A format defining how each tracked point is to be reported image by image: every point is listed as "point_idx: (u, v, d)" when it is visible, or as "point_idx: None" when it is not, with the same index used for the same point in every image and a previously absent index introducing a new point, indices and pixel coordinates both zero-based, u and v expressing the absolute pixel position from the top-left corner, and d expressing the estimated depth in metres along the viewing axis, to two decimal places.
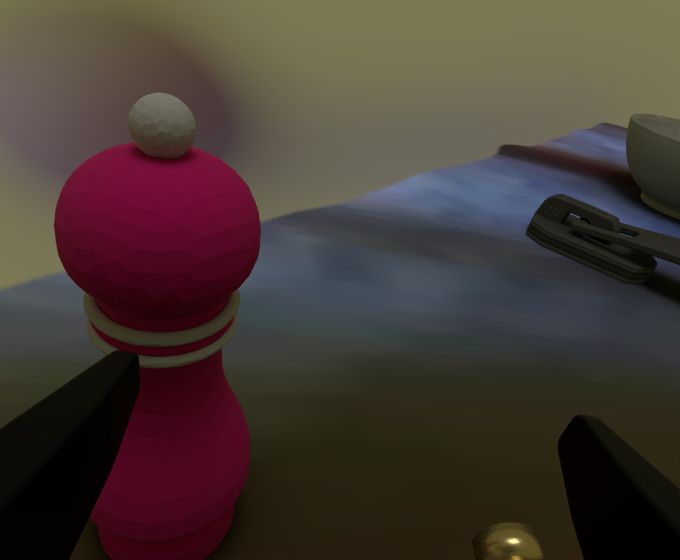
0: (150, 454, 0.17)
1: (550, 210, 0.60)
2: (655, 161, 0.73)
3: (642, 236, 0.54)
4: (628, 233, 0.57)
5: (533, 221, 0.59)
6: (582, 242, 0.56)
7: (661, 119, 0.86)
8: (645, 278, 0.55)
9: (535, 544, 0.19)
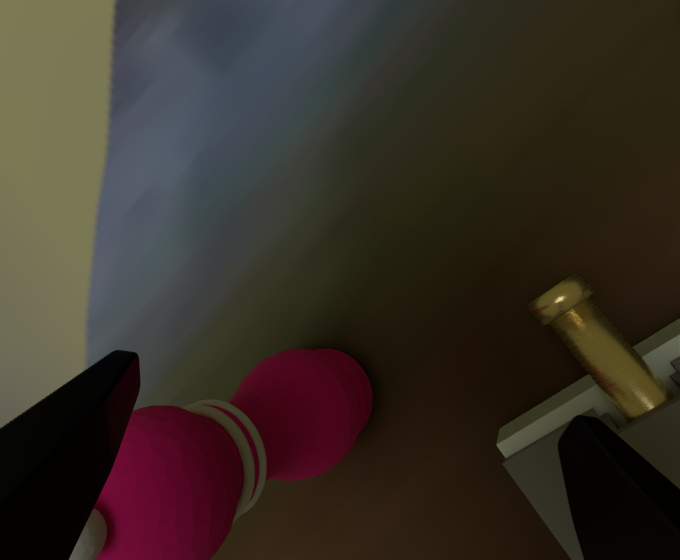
0: (296, 470, 0.24)
1: None
2: None
3: None
4: None
5: None
6: None
7: None
8: None
9: (574, 293, 0.21)
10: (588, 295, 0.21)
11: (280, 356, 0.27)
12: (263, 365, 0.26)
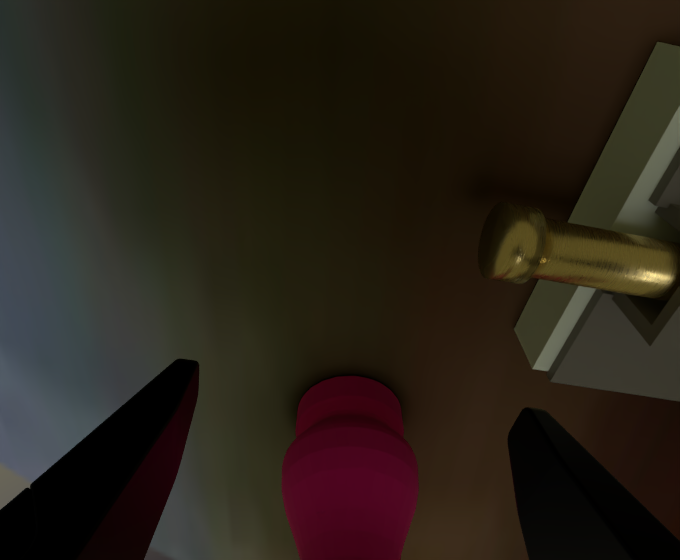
0: None
1: None
2: None
3: None
4: None
5: None
6: None
7: None
8: None
9: (531, 246, 0.16)
10: (544, 233, 0.16)
11: (295, 471, 0.23)
12: (291, 494, 0.23)
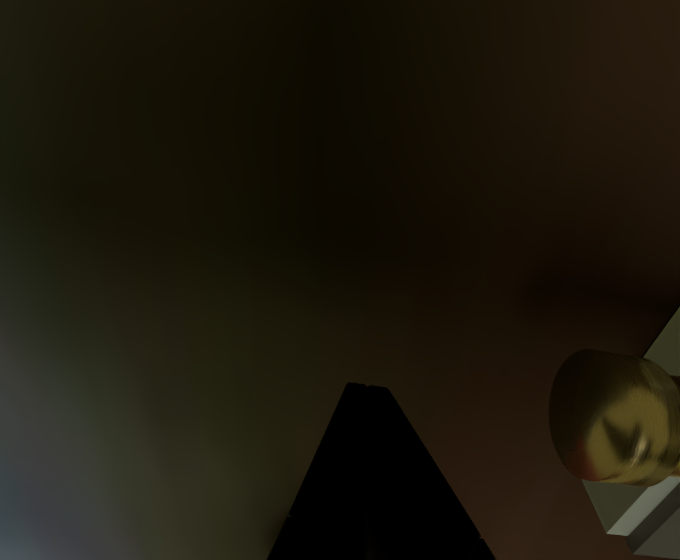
0: None
1: None
2: None
3: None
4: None
5: None
6: None
7: None
8: None
9: (660, 446, 0.09)
10: None
11: None
12: None
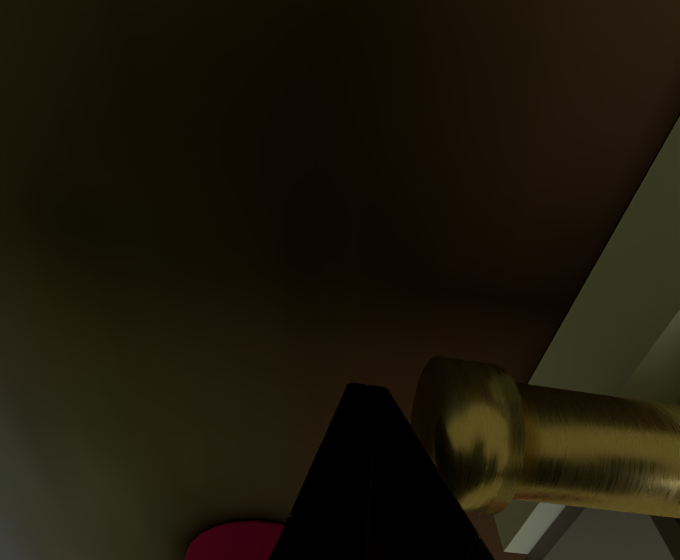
0: None
1: None
2: None
3: None
4: None
5: None
6: None
7: None
8: None
9: (494, 469, 0.08)
10: (521, 443, 0.08)
11: None
12: None
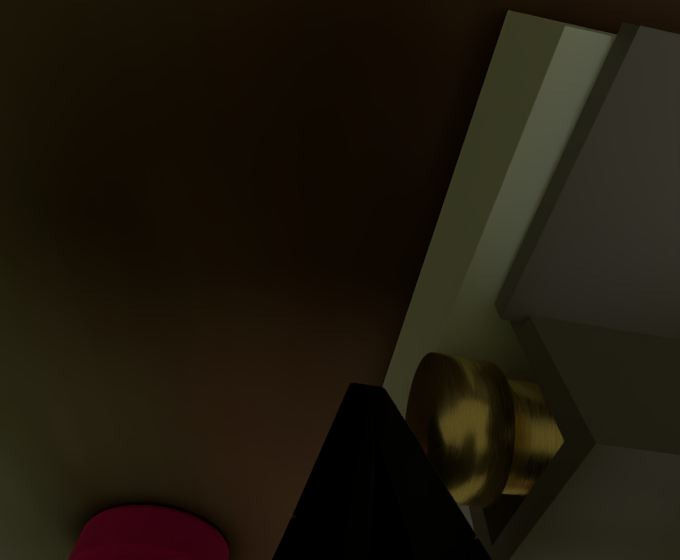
0: None
1: None
2: None
3: None
4: None
5: None
6: None
7: None
8: None
9: (484, 463, 0.08)
10: (511, 438, 0.08)
11: None
12: None
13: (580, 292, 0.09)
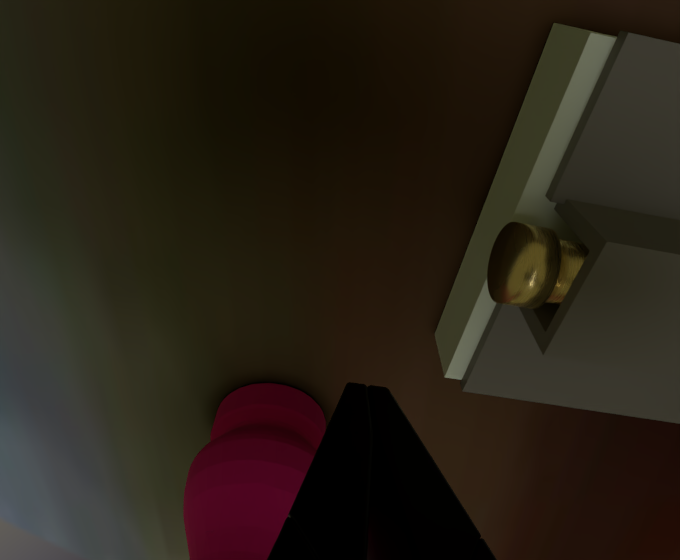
0: None
1: None
2: None
3: None
4: None
5: None
6: None
7: None
8: None
9: (545, 270, 0.15)
10: (559, 257, 0.15)
11: (192, 486, 0.22)
12: (187, 511, 0.22)
13: (597, 183, 0.16)
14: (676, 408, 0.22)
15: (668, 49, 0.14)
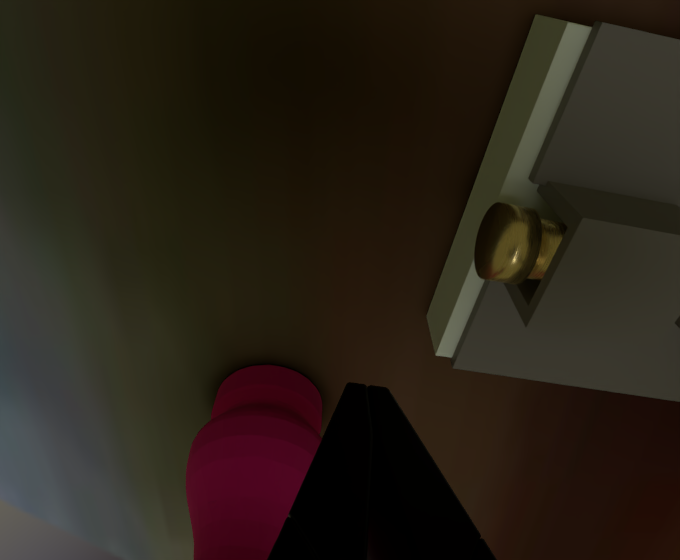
0: None
1: None
2: None
3: None
4: None
5: None
6: None
7: None
8: None
9: (526, 246, 0.16)
10: (540, 234, 0.16)
11: (194, 460, 0.23)
12: (189, 484, 0.22)
13: (576, 166, 0.17)
14: (655, 383, 0.23)
15: (639, 38, 0.15)
